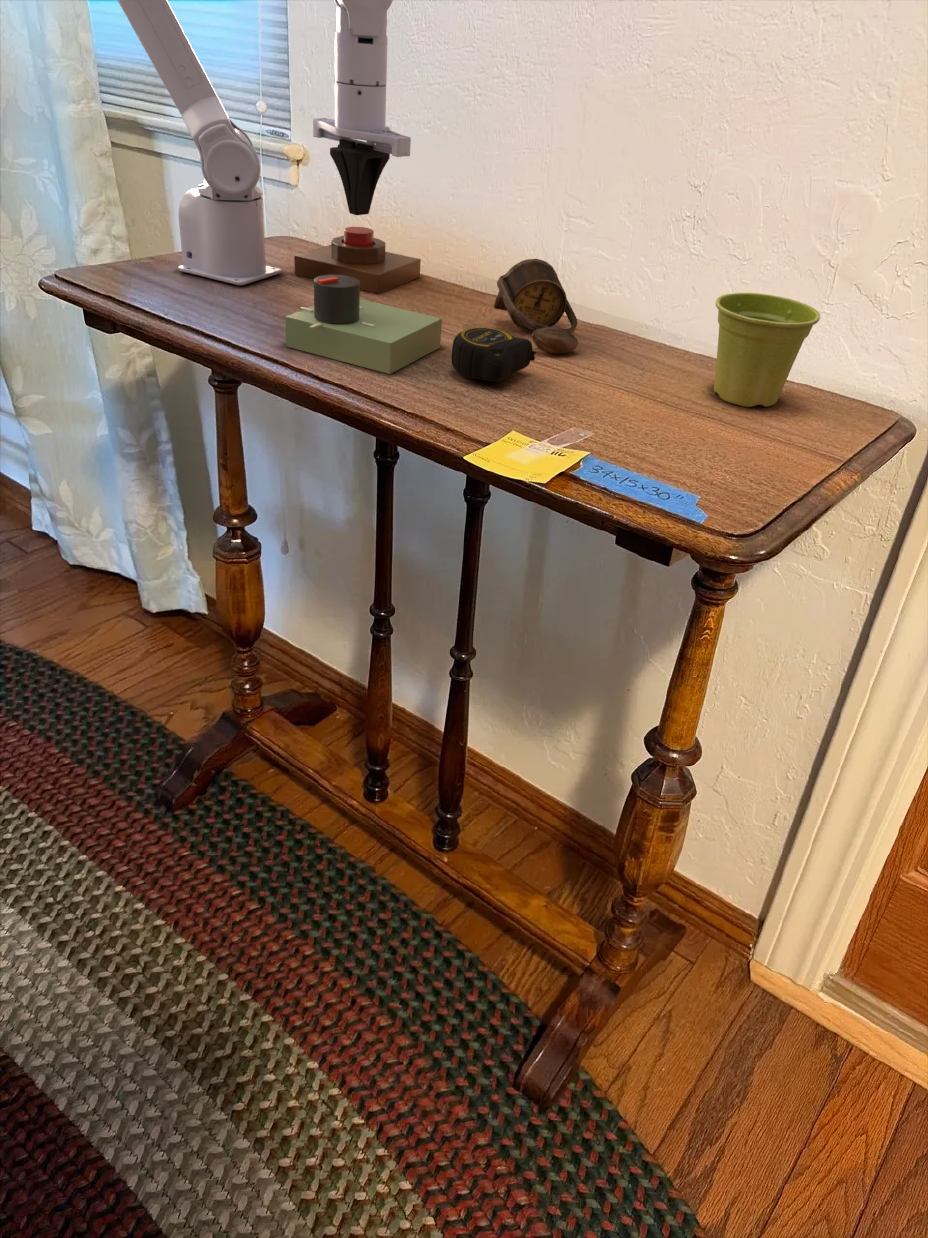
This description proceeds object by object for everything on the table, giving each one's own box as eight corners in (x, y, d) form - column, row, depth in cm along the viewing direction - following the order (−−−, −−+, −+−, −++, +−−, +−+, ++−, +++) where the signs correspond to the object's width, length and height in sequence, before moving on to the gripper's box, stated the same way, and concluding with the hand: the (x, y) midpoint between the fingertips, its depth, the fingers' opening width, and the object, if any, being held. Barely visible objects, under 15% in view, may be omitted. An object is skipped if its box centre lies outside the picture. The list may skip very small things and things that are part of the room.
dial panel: (275, 349, 91) (274, 316, 89) (340, 322, 99) (340, 292, 97) (382, 378, 87) (383, 344, 85) (440, 347, 95) (442, 316, 93)
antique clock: (594, 274, 103) (509, 244, 102) (598, 294, 92) (503, 260, 91) (571, 337, 106) (488, 308, 106) (572, 364, 95) (480, 331, 94)
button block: (294, 274, 113) (293, 239, 111) (340, 259, 121) (340, 226, 118) (378, 293, 109) (378, 258, 107) (420, 277, 117) (421, 243, 114)
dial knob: (339, 307, 93) (339, 268, 91) (368, 319, 91) (369, 279, 89) (304, 314, 91) (304, 274, 88) (334, 326, 88) (334, 286, 86)
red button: (337, 244, 112) (338, 229, 111) (354, 239, 115) (354, 224, 114) (363, 250, 111) (363, 234, 110) (379, 245, 114) (379, 230, 113)
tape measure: (497, 394, 86) (501, 354, 83) (436, 375, 88) (438, 336, 86) (533, 375, 90) (538, 337, 88) (474, 357, 93) (477, 320, 91)
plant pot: (778, 424, 85) (805, 329, 80) (681, 397, 89) (702, 305, 84) (805, 396, 92) (831, 307, 87) (714, 372, 95) (734, 286, 90)
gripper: (432, 91, 102) (425, 222, 110) (344, 74, 109) (344, 198, 117) (385, 92, 97) (382, 228, 105) (297, 75, 105) (300, 203, 113)
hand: (359, 213), depth 111 cm, fingers closed
